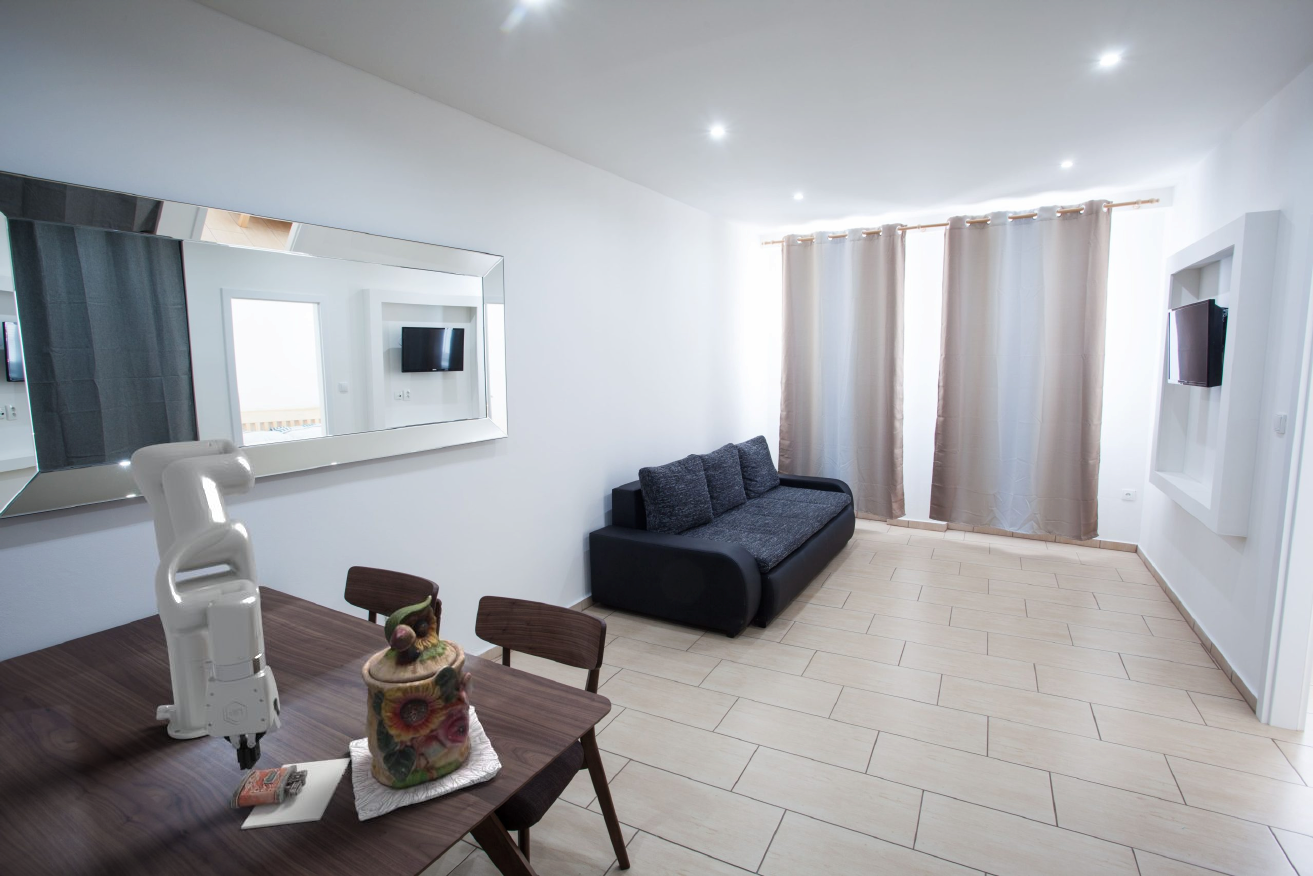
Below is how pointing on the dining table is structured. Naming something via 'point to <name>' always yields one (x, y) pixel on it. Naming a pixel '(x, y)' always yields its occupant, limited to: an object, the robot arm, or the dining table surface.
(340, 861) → the dining table surface
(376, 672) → the cookie jar
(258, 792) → the lighter
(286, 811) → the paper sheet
